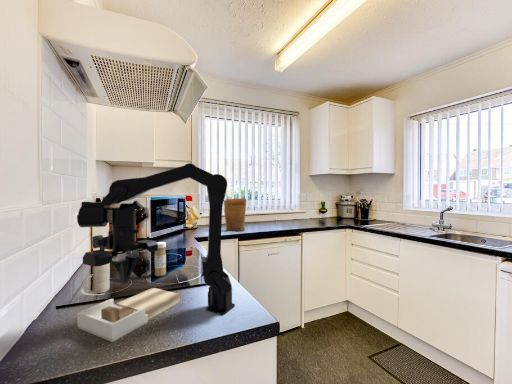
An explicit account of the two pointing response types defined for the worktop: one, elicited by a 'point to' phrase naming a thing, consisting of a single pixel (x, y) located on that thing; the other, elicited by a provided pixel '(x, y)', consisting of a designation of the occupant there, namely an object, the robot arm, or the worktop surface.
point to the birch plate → (151, 301)
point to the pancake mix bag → (235, 214)
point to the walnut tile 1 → (110, 314)
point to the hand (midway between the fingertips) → (124, 282)
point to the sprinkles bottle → (160, 259)
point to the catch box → (105, 329)
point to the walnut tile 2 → (124, 312)
